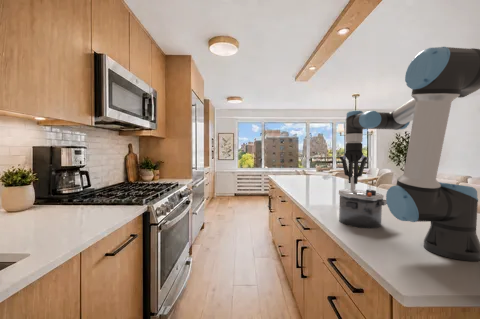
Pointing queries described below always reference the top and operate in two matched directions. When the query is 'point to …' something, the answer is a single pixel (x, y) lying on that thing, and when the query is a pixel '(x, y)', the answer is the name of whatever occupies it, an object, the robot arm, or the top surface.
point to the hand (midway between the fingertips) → (352, 190)
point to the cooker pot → (360, 212)
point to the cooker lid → (361, 194)
